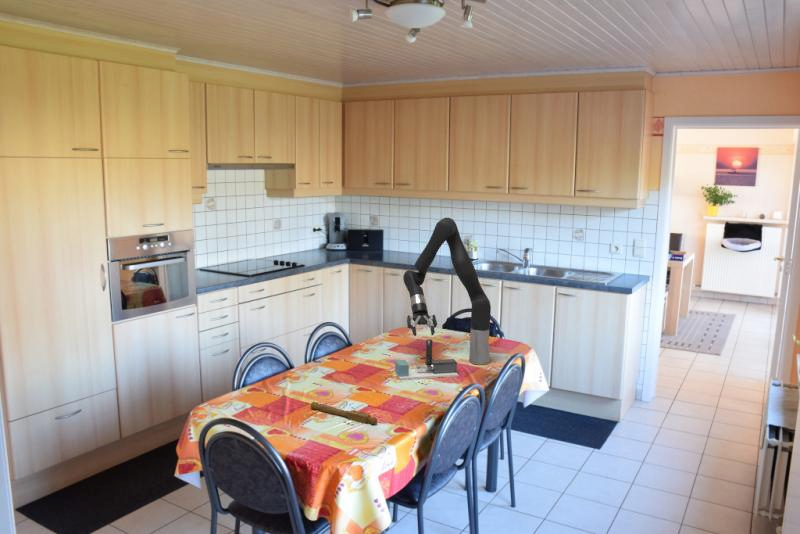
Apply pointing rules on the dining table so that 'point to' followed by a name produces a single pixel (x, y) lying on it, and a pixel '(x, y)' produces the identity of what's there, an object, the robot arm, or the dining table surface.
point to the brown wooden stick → (345, 413)
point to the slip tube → (427, 358)
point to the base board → (425, 374)
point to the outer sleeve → (444, 366)
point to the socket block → (401, 368)
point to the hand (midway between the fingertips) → (424, 334)
